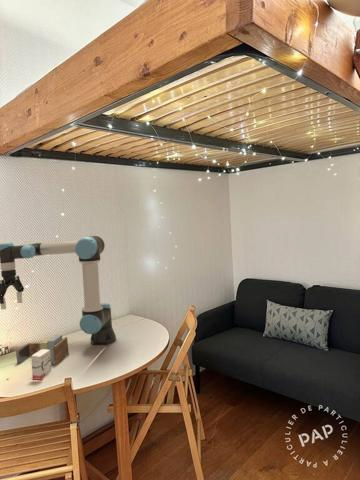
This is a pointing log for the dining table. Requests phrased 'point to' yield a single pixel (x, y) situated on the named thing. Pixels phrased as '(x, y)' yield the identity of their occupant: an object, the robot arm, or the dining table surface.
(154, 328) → the dining table surface
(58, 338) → the book
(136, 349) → the dining table surface
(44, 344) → the book
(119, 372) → the dining table surface
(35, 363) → the ink box
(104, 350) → the dining table surface
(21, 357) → the bookend
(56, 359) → the shelf
